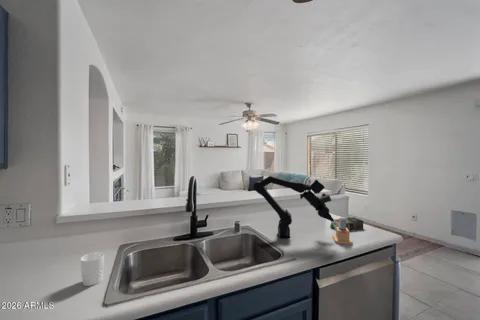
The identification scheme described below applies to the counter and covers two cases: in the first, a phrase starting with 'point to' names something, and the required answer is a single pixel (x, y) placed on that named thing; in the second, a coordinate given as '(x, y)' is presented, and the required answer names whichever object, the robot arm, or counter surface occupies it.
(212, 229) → the counter surface
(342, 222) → the jack stand column
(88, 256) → the white cup
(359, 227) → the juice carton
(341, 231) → the jack stand base
